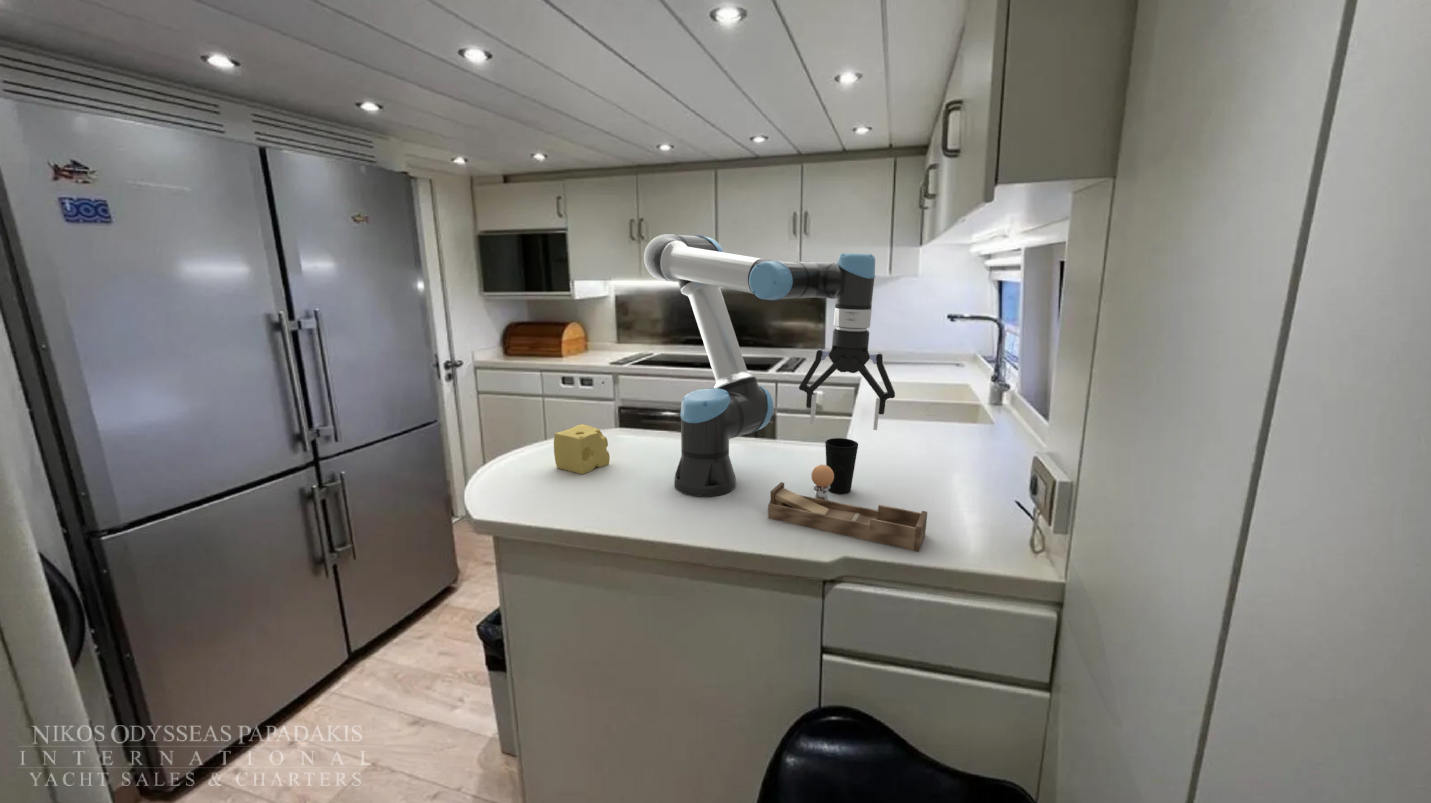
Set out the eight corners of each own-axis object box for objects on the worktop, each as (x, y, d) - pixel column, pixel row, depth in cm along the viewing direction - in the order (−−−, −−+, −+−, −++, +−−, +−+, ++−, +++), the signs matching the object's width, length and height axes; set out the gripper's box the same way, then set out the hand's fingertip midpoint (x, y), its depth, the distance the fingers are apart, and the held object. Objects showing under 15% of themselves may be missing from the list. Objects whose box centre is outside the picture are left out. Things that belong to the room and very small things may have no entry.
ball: (807, 488, 125) (808, 466, 124) (814, 480, 130) (815, 460, 129) (829, 492, 123) (830, 470, 122) (836, 484, 127) (837, 463, 126)
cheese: (610, 464, 154) (608, 429, 151) (581, 476, 145) (579, 439, 142) (582, 457, 159) (581, 423, 157) (553, 468, 150) (551, 432, 148)
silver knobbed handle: (806, 507, 126) (807, 486, 125) (813, 499, 131) (814, 479, 130) (828, 511, 124) (829, 490, 123) (835, 503, 128) (836, 483, 127)
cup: (855, 497, 132) (858, 448, 129) (822, 494, 134) (825, 446, 131) (854, 485, 139) (857, 439, 137) (823, 482, 141) (825, 437, 138)
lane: (768, 517, 121) (768, 492, 119) (781, 504, 128) (782, 480, 126) (919, 551, 107) (921, 523, 105) (925, 534, 114) (927, 507, 112)
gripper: (789, 327, 118) (784, 423, 124) (914, 334, 112) (903, 435, 117) (795, 323, 125) (789, 415, 131) (912, 330, 119) (902, 426, 124)
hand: (843, 425), depth 124 cm, fingers open, 13 cm apart
